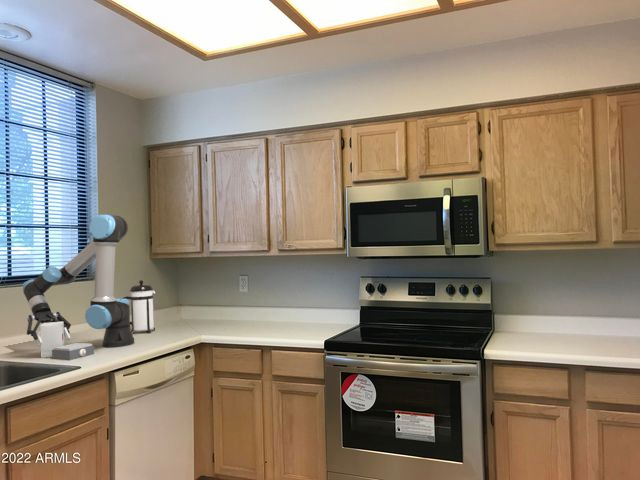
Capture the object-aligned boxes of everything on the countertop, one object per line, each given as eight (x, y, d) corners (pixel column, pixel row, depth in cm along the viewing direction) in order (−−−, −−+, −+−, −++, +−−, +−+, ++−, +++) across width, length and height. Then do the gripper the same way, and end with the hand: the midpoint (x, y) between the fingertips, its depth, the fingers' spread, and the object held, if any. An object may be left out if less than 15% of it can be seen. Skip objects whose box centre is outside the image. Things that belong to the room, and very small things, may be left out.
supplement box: (62, 356, 235) (61, 323, 235) (40, 358, 232) (39, 325, 232) (65, 352, 243) (64, 320, 243) (44, 354, 240) (42, 322, 240)
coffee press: (148, 329, 307) (146, 279, 307) (161, 331, 296) (159, 279, 296) (119, 333, 295) (117, 281, 295) (132, 336, 284) (130, 281, 284)
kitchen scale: (76, 352, 242) (76, 342, 242) (95, 354, 237) (94, 343, 237) (52, 358, 230) (51, 348, 230) (71, 360, 225) (70, 349, 225)
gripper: (63, 309, 257) (78, 342, 247) (10, 315, 238) (24, 352, 228) (67, 299, 253) (83, 332, 244) (14, 304, 235) (29, 341, 225)
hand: (55, 342), depth 236 cm, fingers closed on supplement box, 12 cm apart
